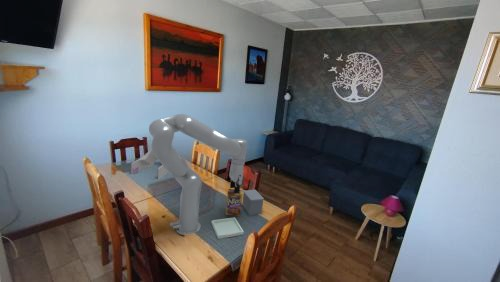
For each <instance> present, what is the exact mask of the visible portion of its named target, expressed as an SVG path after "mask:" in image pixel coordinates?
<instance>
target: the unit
mask: <svg viewBox="0 0 500 282" xmlns="http://www.w3.org/2000/svg"><path fill="white" fill-rule="evenodd" d="M264 201H265V198H264V197H263V196H262V195H261V194H260V193H259V192H258V191H257V190H256V189H248V190H247V189H246V190H243V195H242V204H241V206H243V208H244V209H245V211H246V213H247V214H248V216H255V215H261V214H263V204H264Z"/></svg>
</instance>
